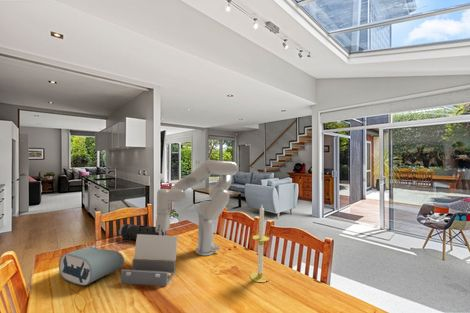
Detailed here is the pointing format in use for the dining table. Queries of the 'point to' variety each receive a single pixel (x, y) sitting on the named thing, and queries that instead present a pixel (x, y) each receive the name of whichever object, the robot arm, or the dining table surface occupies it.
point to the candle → (260, 248)
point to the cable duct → (149, 272)
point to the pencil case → (89, 264)
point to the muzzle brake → (136, 231)
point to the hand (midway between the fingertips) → (163, 242)
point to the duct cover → (156, 247)
